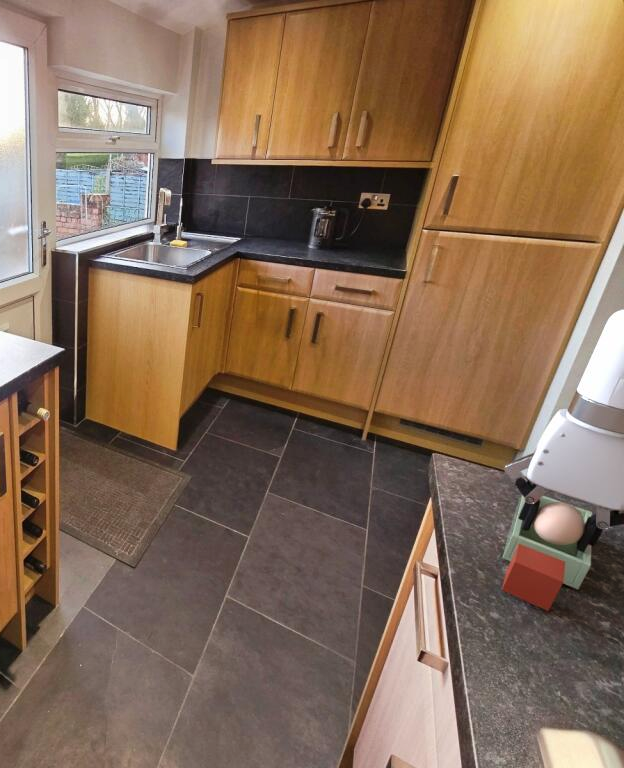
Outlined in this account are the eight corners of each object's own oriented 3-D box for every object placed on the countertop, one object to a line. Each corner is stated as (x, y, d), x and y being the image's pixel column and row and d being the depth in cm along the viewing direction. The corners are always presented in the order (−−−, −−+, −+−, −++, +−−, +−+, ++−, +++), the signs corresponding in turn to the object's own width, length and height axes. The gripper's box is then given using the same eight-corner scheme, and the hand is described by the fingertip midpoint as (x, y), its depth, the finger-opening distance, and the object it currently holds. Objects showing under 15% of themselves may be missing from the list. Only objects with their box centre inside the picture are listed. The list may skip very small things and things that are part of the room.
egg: (530, 520, 70) (548, 487, 67) (576, 541, 66) (597, 507, 64) (521, 538, 67) (539, 504, 64) (569, 560, 63) (591, 525, 61)
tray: (581, 533, 73) (592, 512, 71) (578, 589, 62) (591, 565, 61) (515, 509, 78) (524, 489, 76) (502, 558, 67) (512, 535, 66)
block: (551, 590, 62) (565, 561, 60) (548, 611, 59) (563, 582, 57) (506, 571, 65) (518, 543, 63) (501, 590, 62) (514, 561, 60)
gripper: (711, 428, 56) (639, 553, 63) (525, 384, 67) (480, 496, 74) (723, 452, 51) (642, 585, 58) (519, 400, 62) (471, 519, 69)
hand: (552, 534), depth 66 cm, fingers closed on egg, 5 cm apart
